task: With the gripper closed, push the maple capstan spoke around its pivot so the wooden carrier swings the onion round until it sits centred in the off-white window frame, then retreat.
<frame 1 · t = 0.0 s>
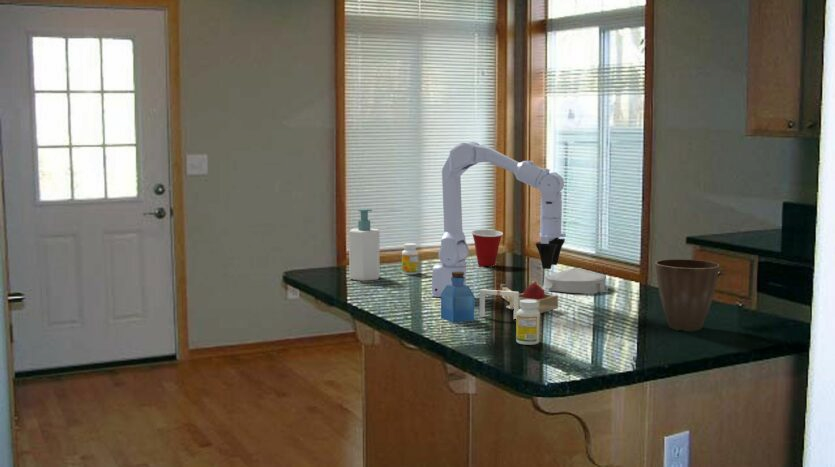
hand: (550, 266, 261), 10 cm above the countertop, fingers open, 7 cm apart
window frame: (498, 317, 243), on the countertop
supplement bottle: (527, 343, 217), on the countertop
plastic cup: (487, 266, 327), on the countertop
food container: (575, 290, 285), on the countertop
onion: (533, 311, 252), resting in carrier
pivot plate: (515, 307, 256), on the countertop
plant pot: (684, 329, 231), on the countertop
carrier: (520, 298, 257), point 2 cm above the countertop, hinge at 0.0°
soap bottle: (364, 278, 302), on the countertop
supplement bottle 2: (410, 273, 311), on the countertop
perfume bottle: (457, 319, 242), on the countertop
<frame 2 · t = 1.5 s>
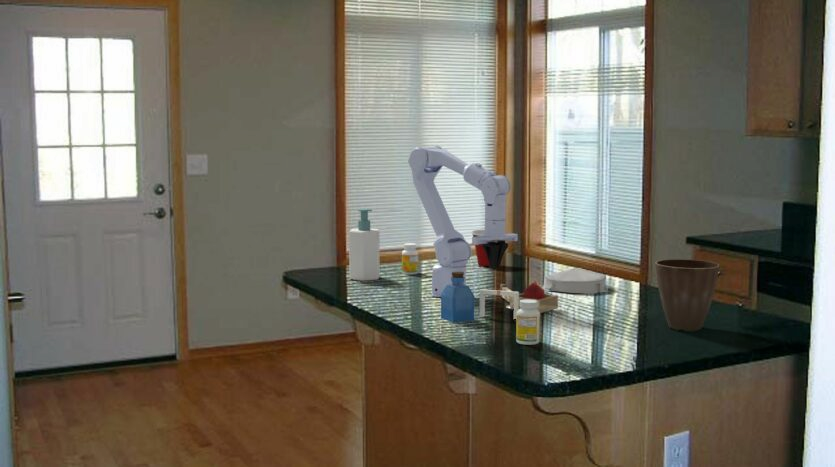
hand: (494, 268, 262), 9 cm above the countertop, fingers closed
nothing on the countertop moved.
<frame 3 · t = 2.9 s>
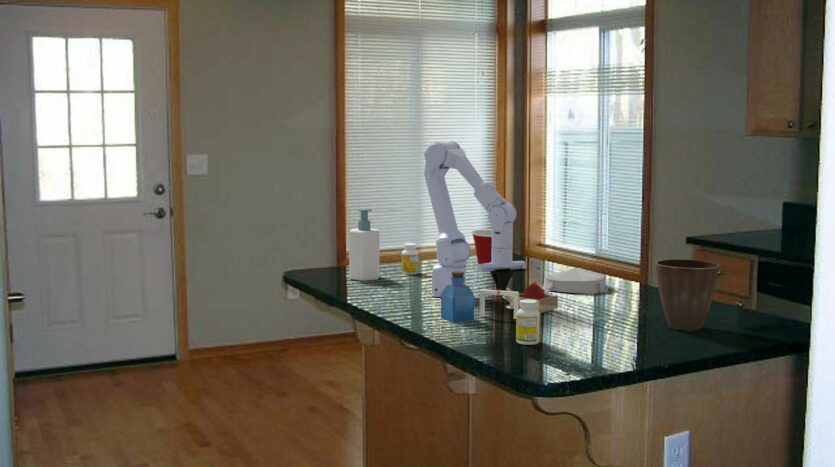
hand: (501, 295, 263), 2 cm above the countertop, fingers closed, pressing on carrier
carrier: (520, 298, 257), point 2 cm above the countertop, hinge at -0.2°, touching gripper
everything else where it was.
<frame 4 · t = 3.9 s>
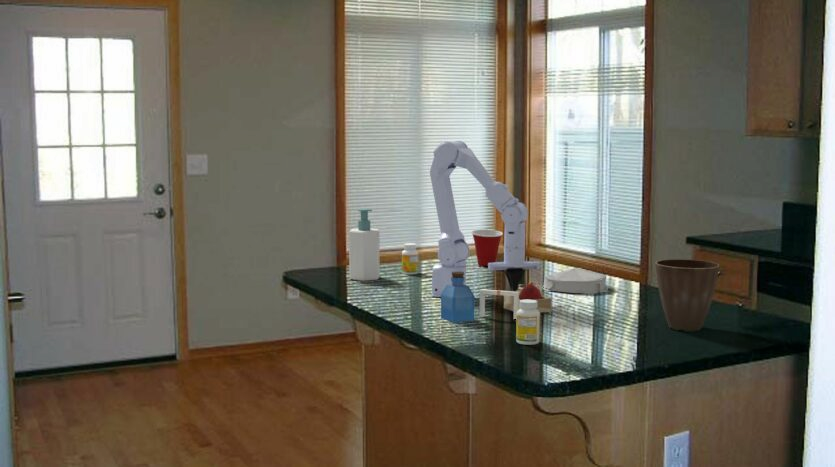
hand: (513, 295, 264), 2 cm above the countertop, fingers closed
onion: (530, 312, 251), resting in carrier
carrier: (522, 298, 256), point 2 cm above the countertop, hinge at -22.4°, touching gripper, onion
everything else where it was.
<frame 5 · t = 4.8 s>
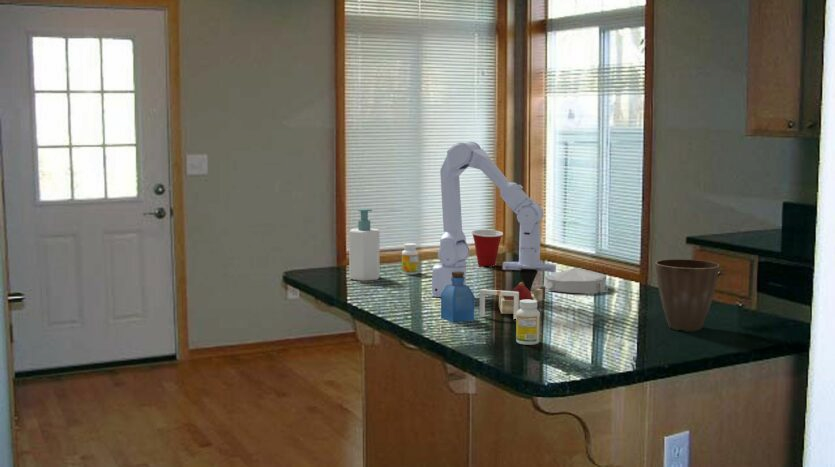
hand: (528, 296, 263), 2 cm above the countertop, fingers closed
onion: (520, 313, 250), resting in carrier
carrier: (524, 299, 255), point 2 cm above the countertop, hinge at -49.3°, touching gripper, onion
everything else where it was.
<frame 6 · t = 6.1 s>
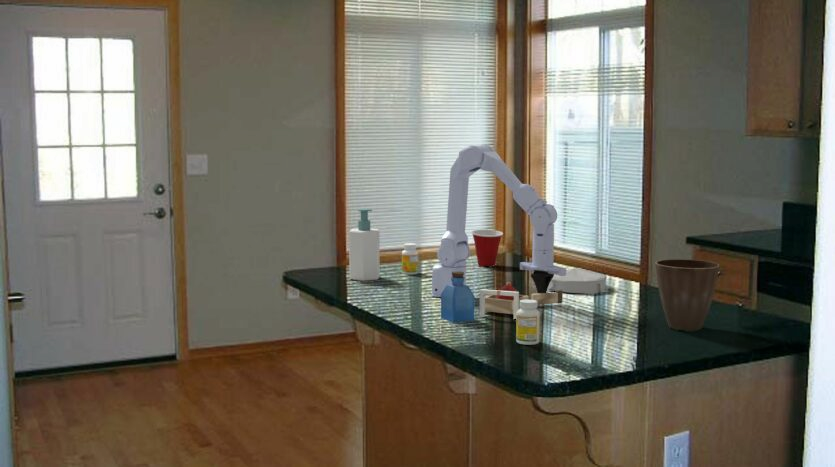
hand: (541, 298, 260), 2 cm above the countertop, fingers closed
onion: (507, 312, 250), resting in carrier
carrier: (523, 300, 254), point 2 cm above the countertop, hinge at -80.4°, touching gripper, onion
everything else where it was.
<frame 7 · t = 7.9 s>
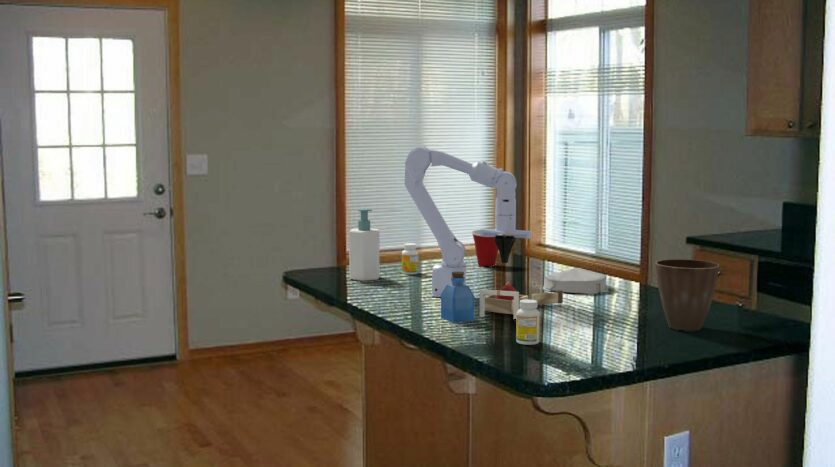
hand: (504, 262, 270), 10 cm above the countertop, fingers closed
onion: (507, 312, 250), resting in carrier
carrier: (523, 300, 254), point 2 cm above the countertop, hinge at -81.3°
everything else where it was.
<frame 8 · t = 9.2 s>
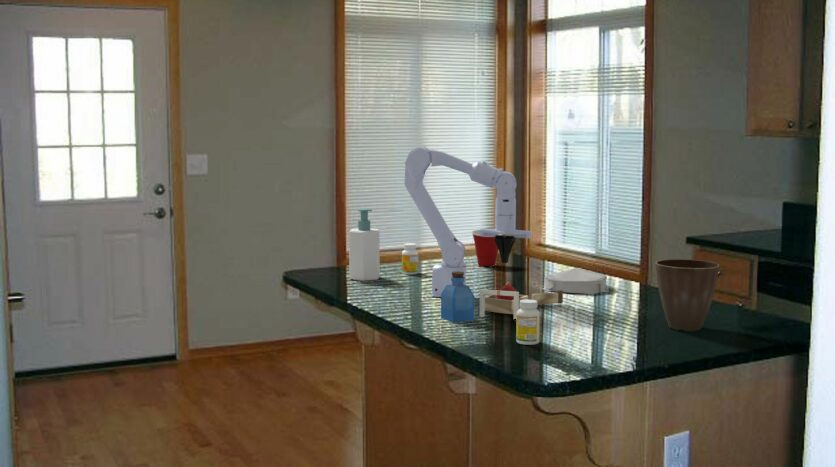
hand: (504, 262, 270), 10 cm above the countertop, fingers closed
nothing on the countertop moved.
at the end: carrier at -81° (first picture: +0°); onion inside the target area (0.3 cm from its centre), resting in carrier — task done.
